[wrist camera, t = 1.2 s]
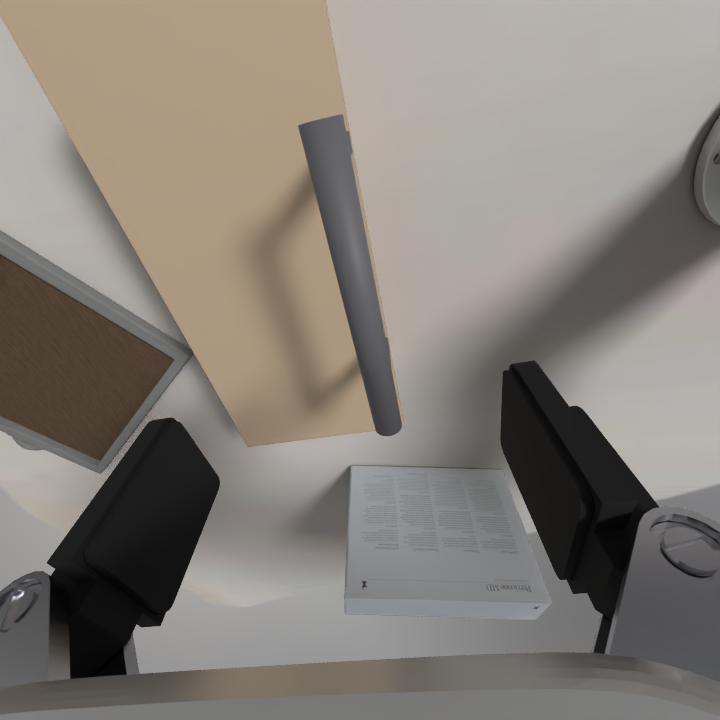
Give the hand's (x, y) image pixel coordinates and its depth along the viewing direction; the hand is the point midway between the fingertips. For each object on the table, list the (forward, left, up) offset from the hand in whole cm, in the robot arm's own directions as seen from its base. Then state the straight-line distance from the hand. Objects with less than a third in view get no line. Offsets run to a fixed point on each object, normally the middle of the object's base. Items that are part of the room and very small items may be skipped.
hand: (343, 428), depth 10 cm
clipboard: (+38, +10, -24) cm, 46 cm away
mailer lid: (+6, 0, -16) cm, 17 cm away
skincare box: (-2, +35, -24) cm, 42 cm away
